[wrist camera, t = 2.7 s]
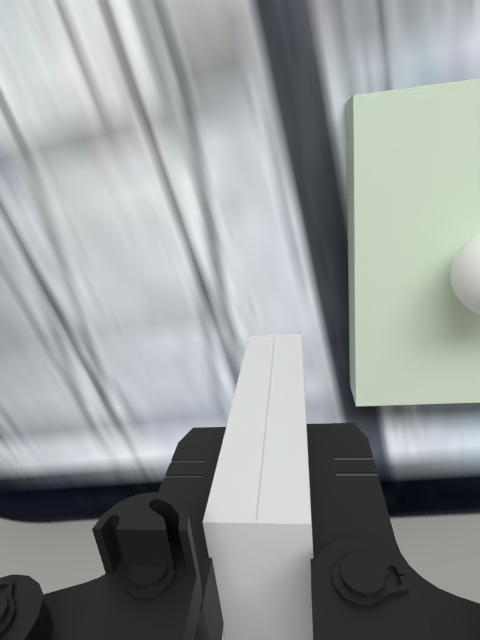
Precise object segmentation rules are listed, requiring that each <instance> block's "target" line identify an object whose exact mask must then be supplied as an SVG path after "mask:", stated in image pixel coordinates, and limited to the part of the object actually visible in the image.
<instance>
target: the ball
mask: <svg viewBox="0 0 480 640" xmlns="http://www.w3.org/2000/svg"><path fill="white" fill-rule="evenodd" d="M450 280H451V285H452V288H453V291H454V293H455V295H456V296H457V298H458V299H459V300H460V301H461V303H462V304H463V305H464V306H466V307H467V308H468V309H470V310H472V311H473V312H475V313H477V314H480V233H479V234H477V235H475V236H474V237H472V238H471V239H469V240H468V241H467V242H466V243H465V244H464V245H463V246H462V247H461V248H460V249H459V251H458V252H457V254H456V255H455V257H454V259H453V262H452V265H451V271H450Z"/></svg>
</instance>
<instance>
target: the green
mask: <svg viewBox="0 0 480 640" xmlns="http://www.w3.org/2000/svg"><path fill="white" fill-rule="evenodd" d="M346 149H347V219H348V289H349V359H350V387H351V390H352V394H353V397H354V401H355V405H356V406H385V405H417V404H448V403H480V314H477V313H475V312H473V311H472V310H470V309H468V308H467V307H466V306H464V305H463V304H462V303H461V301H460V300H459V299H458V298H457V296H456V295H455V293H454V291H453V288H452V285H451V280H450V271H451V265H452V262H453V259H454V257H455V255H456V254H457V252H458V251H459V249H460V248H461V247H462V246H463V245H464V244H465V243H466V242H467V241H468V240H469V239H471V238H472V237H474V236H475V235H477V234H479V233H480V78H479V79H471V80H464V81H456V82H449V83H441V84H434V85H426V86H419V87H411V88H404V89H397V90H389V91H382V92H374V93H367V94H359V95H353V96H352V97H351V98H350V99H349V100H348V101H347V102H346Z"/></svg>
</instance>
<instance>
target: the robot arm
mask: <svg viewBox="0 0 480 640" xmlns="http://www.w3.org/2000/svg"><path fill="white" fill-rule="evenodd" d="M92 530H93V533H94V536H95V539H96V543H97V546H98V549H99V553H100V555H101V559H102V562H103V565H104V569H105V572H106V574H105V575H103V576H101V577H99V578H97V579H94V580H91V581H89V582H86V583H83V584H79V585H76V586H72V587H69V588H66V589H62V590H58V591H54V592H51V593H47V594H44V595H43V592H42V590H41V587H40V585H39V583H38V582H36V581H35V580H34V579H32V578H31V577H29V576H24V575H9V576H5V577H2V578H0V640H221V639H222V632H223V637H224V640H480V604H479V603H476V602H473V601H470V600H467V599H464V598H461V597H458V596H455V595H453V594H451V593H448V592H446V591H444V590H441V589H439V588H437V587H436V586H434V585H433V584H431V583H429V582H428V581H426V580H425V579H423V578H422V577H421V576H420V575H419V574H418V573H417V572H416V571H415V570H414V569H412V568H411V567H410V566H409V564H408V563H407V561H406V560H405V559H404V557H403V556H402V554H401V553H400V550H399V548H398V545H397V543H396V540H395V536H394V533H393V529H392V525H391V522H390V518H389V514H388V511H387V507H386V503H385V500H384V496H383V492H382V489H381V485H380V481H379V478H378V476H377V470H376V466H375V463H374V460H373V455H372V452H371V448H370V444H369V441H368V438H367V437H366V436H365V435H364V434H363V433H362V432H361V430H360V429H359V428H358V427H357V426H356V425H355V424H354V423H332V424H307V418H306V401H305V384H304V367H303V350H302V333H298V334H278V335H259V336H249V338H248V342H247V346H246V350H245V354H244V358H243V362H242V366H241V370H240V374H239V378H238V382H237V386H236V390H235V394H234V398H233V402H232V406H231V410H230V414H229V418H228V422H227V426H226V427H207V428H193V429H192V430H191V431H190V432H189V433H188V434H187V435H186V436H185V437H184V438H183V439H182V440H181V441H180V442H179V443H178V445H177V447H176V450H175V452H174V455H173V457H172V463H170V465H169V467H168V470H167V472H166V478H164V480H163V482H162V485H161V487H160V489H159V492H158V493H156V492H153V493H146V494H139V495H135V496H133V497H130V498H128V499H126V500H123V501H121V502H119V503H118V504H116V505H115V506H114V507H112V508H111V509H110V510H108V511H107V512H106V513H104V514H103V516H102V517H101V518H100V519H99V521H98V522H97V524H96V525H95V526H94V527H93V529H92Z"/></svg>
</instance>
